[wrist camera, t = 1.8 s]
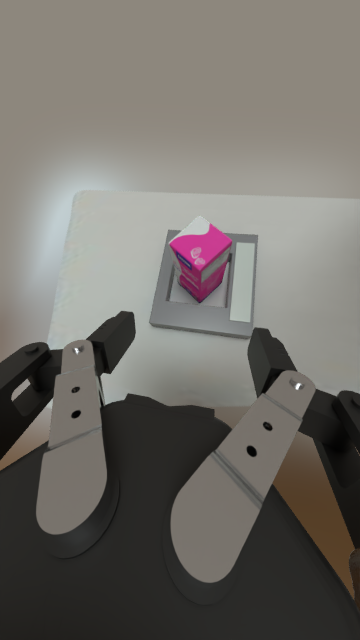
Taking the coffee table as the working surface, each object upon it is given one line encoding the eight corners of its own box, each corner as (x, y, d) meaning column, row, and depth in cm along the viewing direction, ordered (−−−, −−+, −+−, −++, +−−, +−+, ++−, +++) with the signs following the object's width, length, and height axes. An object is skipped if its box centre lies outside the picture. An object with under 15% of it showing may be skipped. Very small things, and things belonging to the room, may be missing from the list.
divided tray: (253, 244, 33) (258, 233, 31) (247, 339, 29) (252, 336, 26) (170, 239, 35) (168, 228, 33) (152, 326, 31) (148, 322, 28)
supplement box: (176, 284, 33) (166, 241, 22) (199, 263, 33) (200, 211, 22) (199, 305, 31) (199, 270, 20) (222, 283, 32) (235, 237, 21)
